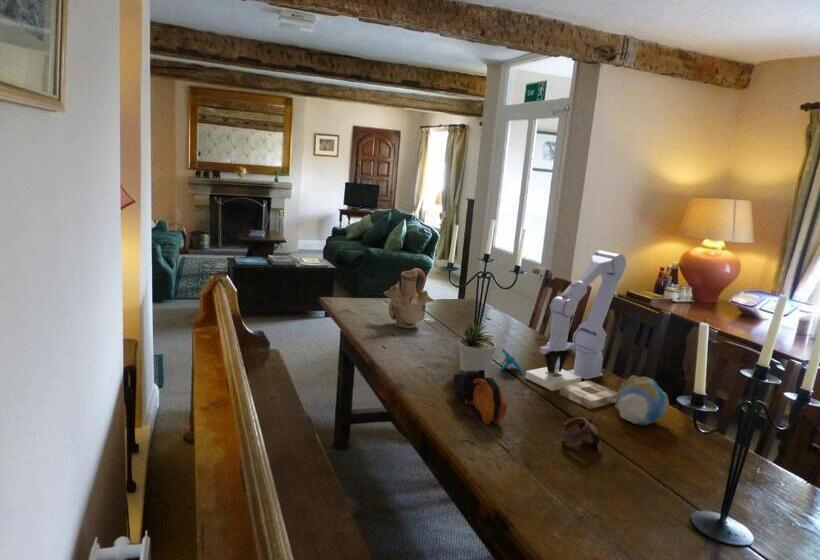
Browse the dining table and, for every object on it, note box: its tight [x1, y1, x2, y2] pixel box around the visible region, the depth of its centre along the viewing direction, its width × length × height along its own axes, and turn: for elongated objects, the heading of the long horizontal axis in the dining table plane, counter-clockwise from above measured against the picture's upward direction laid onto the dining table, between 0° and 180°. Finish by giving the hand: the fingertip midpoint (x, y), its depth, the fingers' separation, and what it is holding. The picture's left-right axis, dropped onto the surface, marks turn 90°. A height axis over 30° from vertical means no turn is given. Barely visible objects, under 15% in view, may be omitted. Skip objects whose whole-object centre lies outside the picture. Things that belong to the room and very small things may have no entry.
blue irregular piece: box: [499, 348, 523, 372], centre depth 196 cm, size 11×6×10 cm
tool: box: [453, 370, 507, 426], centre depth 160 cm, size 8×23×15 cm, turn 19°
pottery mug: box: [560, 416, 602, 454], centre depth 145 cm, size 12×10×8 cm
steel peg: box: [549, 355, 561, 377], centre depth 188 cm, size 3×3×9 cm
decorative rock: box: [614, 375, 670, 426], centre depth 162 cm, size 14×16×15 cm
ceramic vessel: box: [383, 267, 435, 329], centre depth 238 cm, size 18×19×25 cm
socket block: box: [524, 366, 583, 392], centre depth 188 cm, size 14×12×2 cm
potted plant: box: [454, 319, 497, 378], centre depth 186 cm, size 13×14×20 cm
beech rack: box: [559, 380, 618, 410], centre depth 176 cm, size 14×12×2 cm
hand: (554, 371), depth 188 cm, fingers closed on steel peg, 3 cm apart
